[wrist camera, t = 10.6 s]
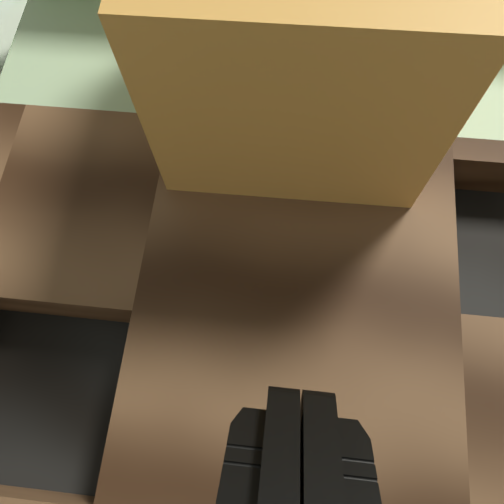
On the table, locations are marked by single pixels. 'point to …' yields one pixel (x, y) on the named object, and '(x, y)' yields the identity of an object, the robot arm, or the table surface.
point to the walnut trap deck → (236, 319)
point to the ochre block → (304, 91)
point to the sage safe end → (108, 73)
